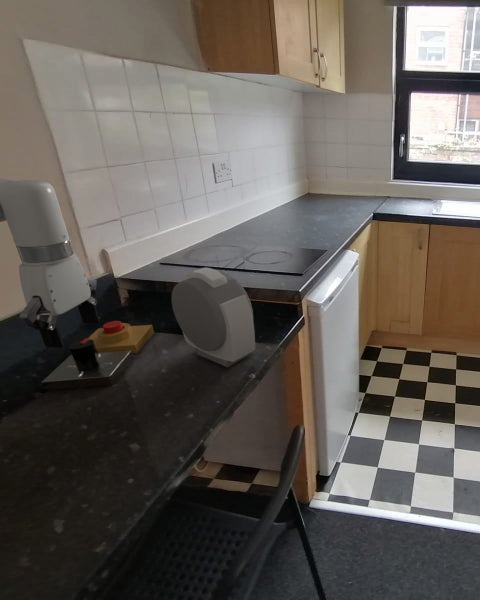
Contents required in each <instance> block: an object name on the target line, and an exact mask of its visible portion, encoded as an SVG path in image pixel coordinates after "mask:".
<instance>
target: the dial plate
mask: <svg viewBox="0 0 480 600" xmlns="http://www.w3.org/2000/svg"><path fill="white" fill-rule="evenodd" d="M98 355H99V358H100V361H101V363H100V364H99V365H98V366H96V367H94V368H92V369H88V370H78V369H77V367H76V364H75V361H74V359H73V356H72V354H70V355H69V356H68V357H67V358H66V359H65V360H64V361H63V362H61V363H60V364H58V366H57V367H56V368H55V369H54V370H52V372H51V373H49V375H47V377H45V378H44V379H43V380H41V385H42V387H43V389H44V391H55V390H67V389H78V388H88V387H98V386H111V385H113V384H114V383H115V382H116V380H117V379H118V378H119V377H120V376H121V374H122V373H123V372H124V371H125V370H126V368H127V367H128V365H130V363H131V362H132V361H133V360H134V354H132V351H131V350H130V351H117V352H104V353H98Z"/></svg>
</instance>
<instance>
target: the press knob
mask: <svg viewBox="0 0 480 600" xmlns="http://www.w3.org/2000/svg"><path fill="white" fill-rule="evenodd" d="M122 323H123V322H122V321H121V320H111V321H109V322H106V323H104V324H103V325H102V328H103V329H104V332H105V334H113V333H117V332H120V331H122V330H123V326H122Z"/></svg>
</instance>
